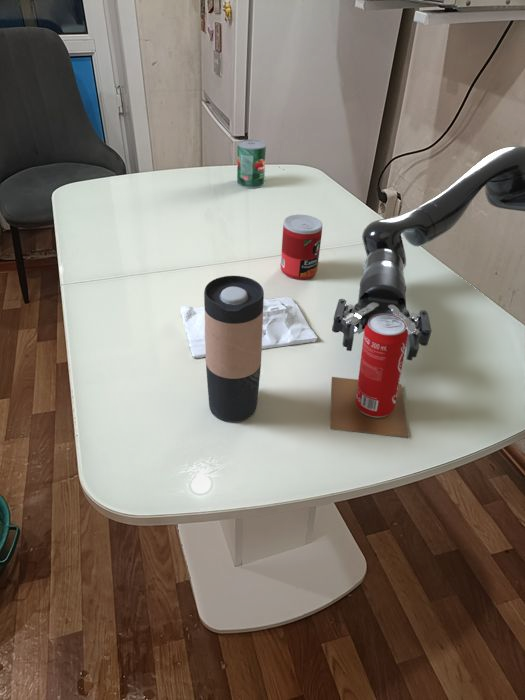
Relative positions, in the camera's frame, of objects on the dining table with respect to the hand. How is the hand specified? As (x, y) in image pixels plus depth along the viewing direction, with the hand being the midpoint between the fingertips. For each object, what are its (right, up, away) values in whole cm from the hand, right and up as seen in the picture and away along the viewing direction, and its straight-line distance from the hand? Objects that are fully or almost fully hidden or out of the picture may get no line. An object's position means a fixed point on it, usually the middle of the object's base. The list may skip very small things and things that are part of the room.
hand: (379, 350), depth 72 cm
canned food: (-9, +17, +36) cm, 41 cm away
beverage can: (0, -8, +5) cm, 10 cm away
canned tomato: (-20, +48, +75) cm, 91 cm away
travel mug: (-21, -8, +4) cm, 23 cm away
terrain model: (-20, +4, +20) cm, 28 cm away
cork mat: (-1, -8, +5) cm, 10 cm away
